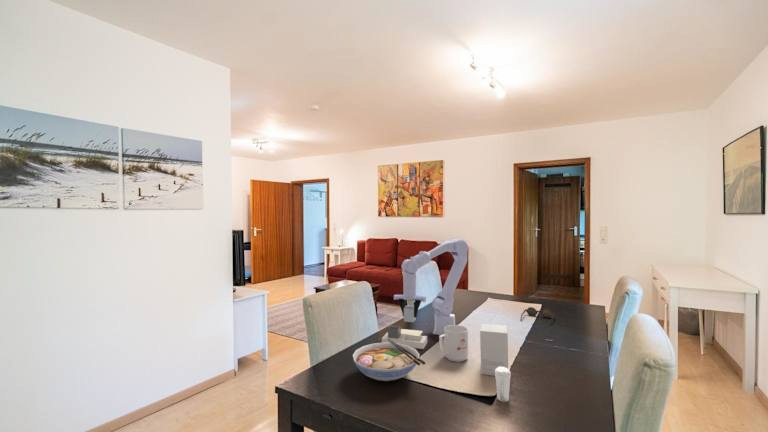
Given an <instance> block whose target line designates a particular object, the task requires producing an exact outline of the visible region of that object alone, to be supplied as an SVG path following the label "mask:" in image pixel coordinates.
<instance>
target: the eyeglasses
mask: <svg viewBox="0 0 768 432" xmlns="http://www.w3.org/2000/svg"><path fill="white" fill-rule="evenodd" d="M525 312H526V313H527V315H528V316H532V317H533V316H534V317H536V316H538V313H540V315H541V316H542V318H548V319H551V320H550V323H549V325H548V327H550V326H551V325H552V322H553V319H554V317H555V312H552V310H551V309H547V308H545V309H543V310H542V311H541V310H537V309H536V308H535V307H533V306H532V307H531V306H529V307H528V308H527V309H524V310H523V312H522V313H521V314H520V315H521V316H520V321H521V322H523V320H522V318H523V315H524V314H525Z"/></svg>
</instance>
